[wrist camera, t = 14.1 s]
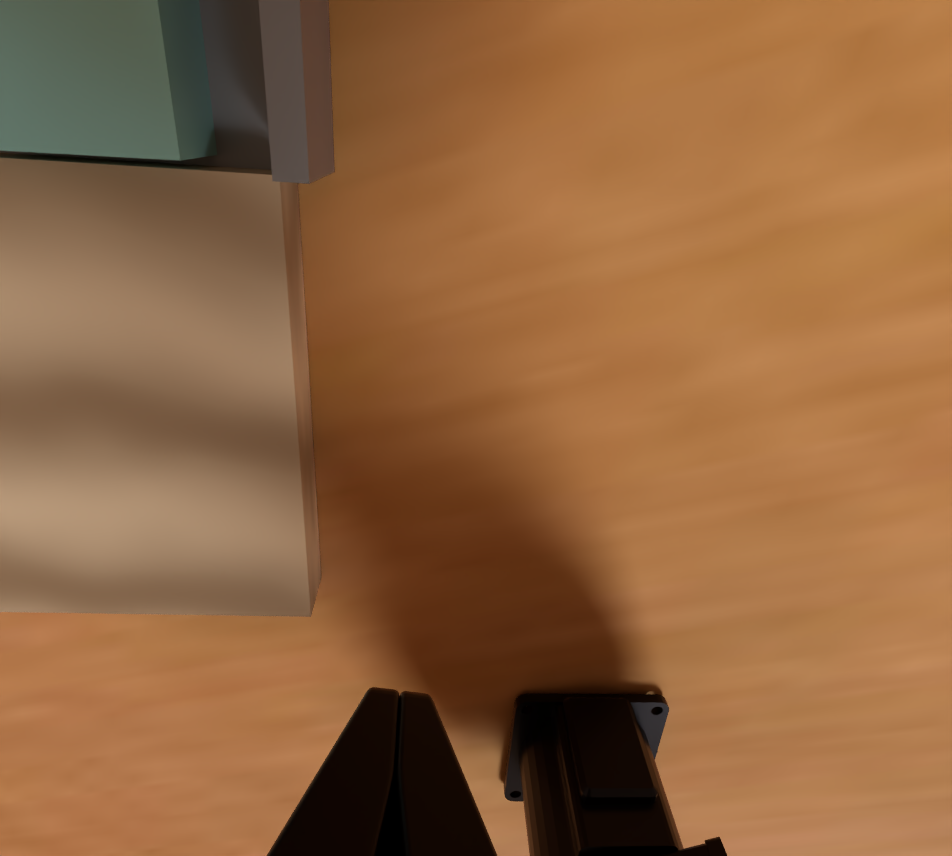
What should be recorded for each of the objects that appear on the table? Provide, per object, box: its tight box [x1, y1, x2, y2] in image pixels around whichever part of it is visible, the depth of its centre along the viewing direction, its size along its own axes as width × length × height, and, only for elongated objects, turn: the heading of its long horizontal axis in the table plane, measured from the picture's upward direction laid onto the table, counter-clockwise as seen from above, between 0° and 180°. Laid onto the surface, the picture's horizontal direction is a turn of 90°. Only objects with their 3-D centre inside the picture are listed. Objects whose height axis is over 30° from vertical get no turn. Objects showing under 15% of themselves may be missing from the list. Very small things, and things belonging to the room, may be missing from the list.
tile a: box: [0, 0, 217, 161], centre depth 14 cm, size 5×5×2 cm
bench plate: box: [0, 153, 321, 617], centre depth 18 cm, size 14×16×2 cm
